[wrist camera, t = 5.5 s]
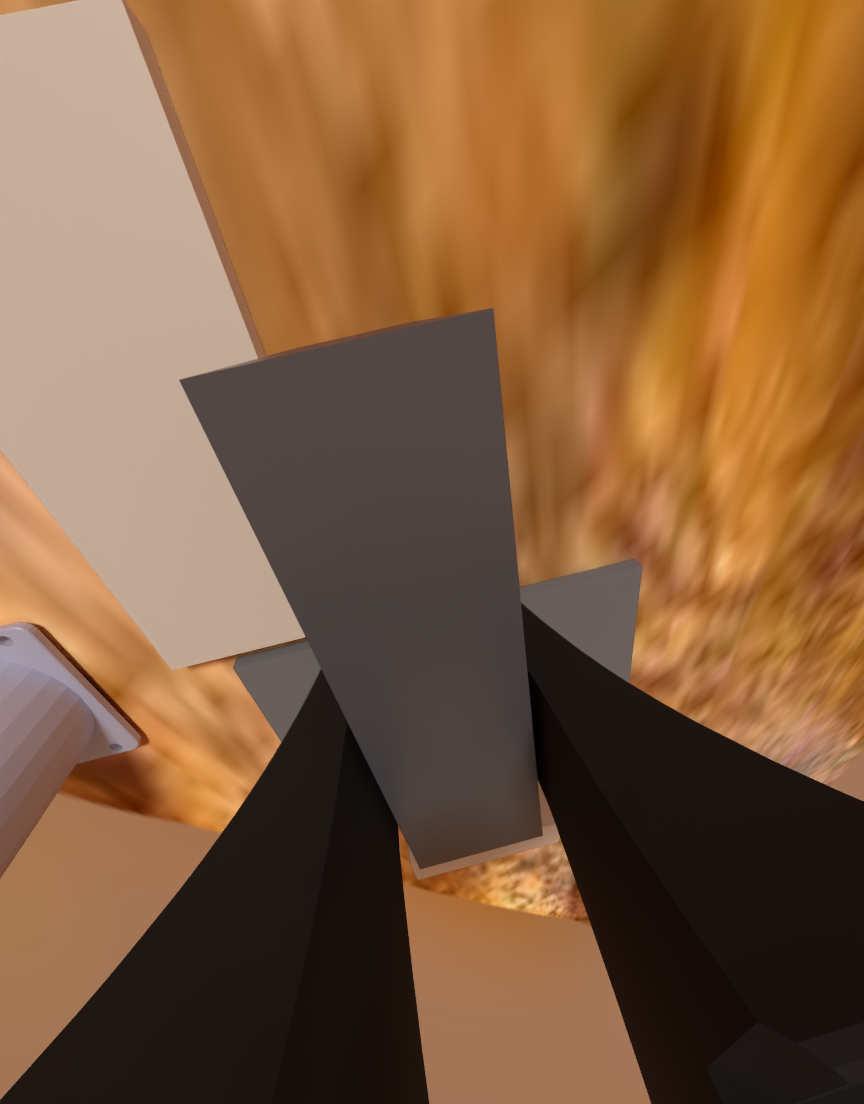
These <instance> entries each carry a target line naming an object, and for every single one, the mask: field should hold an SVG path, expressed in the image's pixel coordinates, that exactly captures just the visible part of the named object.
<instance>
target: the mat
mask: <svg viewBox="0 0 864 1104" xmlns="http://www.w3.org/2000/svg"><path fill="white" fill-rule="evenodd" d="M641 573H642V565H641V564H640V563H639V562H637V561H636V560H635V559H633V560H629V561H625V562H621V563H617V564H613V565H609V566H605V567H601V568H597V569H593V570H588V571H584V572H580V573H576V574H572V575H568V576H564V577H560V578H556V579H552V580H548V581H544V582H540V583H536V584H532V585H528V586H524V587H520V598H521V603H523V604H524V605H525V606H526V607H527V608H528V609H529V610H531V611H532V612H533V613H534V614H535V615H536V616H538V617H539V618H540V619H541V620H542V621H544V622H545V623H546V624H547V625H548V626H550V627H551V628H552V629H554V630H555V631H556V632H557V633H559V634H560V635H561V636H563V637H564V638H565V639H566V640H568V641H569V642H570V643H572V644H573V645H574V646H576V647H577V648H578V649H580V650H581V651H583V652H584V653H585V654H587V655H588V656H590V657H591V658H592V659H594V660H595V661H597V662H598V663H600V664H601V665H603V666H604V667H605V668H607V669H608V670H610V671H611V672H613V673H614V674H616V675H617V676H619V677H621V678H622V679H624V680H625V681H627V682H628V683H629V679H630V670H631V661H632V653H633V644H634V635H635V626H636V617H637V609H638V600H639V591H640V582H641ZM233 669H234V670H235V672H236V673H237V675H238V676H239V678H240V679H241V681H242V682H243V684H244V686H245V687H246V689H247V690H248V692H249V693H250V695H251V696H252V698H253V699H254V701H255V702H256V704H257V705H258V707H259V708H260V710H261V711H262V713H263V714H264V716H265V717H266V719H267V721H268V722H269V724H270V725H271V727H272V728H273V730H274V731H275V733H276V734H277V736H278V737H279V739H280V740H281V742H282V741H283V739H284V737H285V735H286V734H287V732H288V730H289V728H290V727H291V725H292V723H293V721H294V720H295V718H296V716H297V714H298V713H299V711H300V709H301V707H302V705H303V703H304V701H305V699H306V697H307V695H308V693H309V691H310V689H311V687H312V686H313V684H314V682H315V680H316V678H317V676H318V674H319V672H320V669H321V667H320V665H319V663H318V661H317V659H316V657H315V655H314V653H313V651H312V649H311V647H310V645H309V643H308V641H303V642H299V643H295V644H291V645H287V646H283V647H279V648H275V649H271V650H267V651H263V652H259V653H255V654H251V655H247V656H243V657H239V658H236V661H235V664H234V666H233Z"/></svg>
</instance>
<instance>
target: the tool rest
mask: <svg viewBox="0 0 864 1104" xmlns="http://www.w3.org/2000/svg"><path fill="white" fill-rule="evenodd" d="M262 357H266V356H265V353H264V351H263V348H262V345H261V343H260V340H259V337H258V334H257V332H256V329H255V326H254V324H253V321H252V318H251V316H250V313H249V310H248V307H247V305H246V302H245V299H244V297H243V294H242V291H241V289H240V286H239V283H238V280H237V278H236V275H235V272H234V270H233V267H232V264H231V262H230V259H229V256H228V253H227V251H226V248H225V245H224V243H223V240H222V237H221V235H220V232H219V229H218V226H217V224H216V221H215V218H214V216H213V213H212V210H211V208H210V205H209V202H208V199H207V197H206V194H205V191H204V189H203V186H202V183H201V181H200V178H199V175H198V172H197V170H196V167H195V164H194V162H193V159H192V156H191V154H190V151H189V148H188V145H187V143H186V140H185V137H184V135H183V132H182V129H181V127H180V124H179V121H178V118H177V116H176V113H175V110H174V108H173V105H172V102H171V100H170V97H169V94H168V91H167V89H166V86H165V83H164V81H163V78H162V75H161V73H160V70H159V67H158V64H157V62H156V59H155V56H154V54H153V51H152V48H151V46H150V43H149V40H148V37H147V35H146V32H145V29H144V27H143V25H142V24H141V22H140V21H139V20H138V18H137V17H136V16H135V14H134V13H133V11H132V10H131V9H130V7H129V6H128V5H127V3H126V2H125V0H78V1H73V2H67V3H62V4H57V5H51V6H46V7H41V8H35V9H30V10H25V11H19V12H14V13H9V14H3V15H0V450H1V451H2V453H3V454H4V455H5V457H6V458H7V459H8V460H9V462H10V463H11V464H12V466H13V467H14V468H15V469H16V471H17V472H18V473H19V475H20V476H21V477H22V478H23V480H24V481H25V482H26V484H27V485H28V486H29V487H30V489H31V490H32V491H33V493H34V494H35V495H36V496H37V498H38V499H39V500H40V502H41V503H42V504H43V505H44V507H45V508H46V509H47V511H48V512H49V513H50V514H51V516H52V517H53V518H54V519H55V521H56V522H57V523H58V525H59V526H60V527H61V528H62V530H63V531H64V532H65V534H66V535H67V536H68V537H69V539H70V540H71V541H72V543H73V544H74V545H75V546H76V548H77V549H78V550H79V552H80V553H81V554H82V555H83V557H84V558H85V559H86V561H87V562H88V563H89V564H90V566H91V567H92V568H93V570H94V571H95V572H96V573H97V575H98V576H99V577H100V579H101V580H102V581H103V582H104V584H105V585H106V586H107V588H108V589H109V590H110V591H111V593H112V594H113V595H114V597H115V598H116V599H117V600H118V602H119V603H120V604H121V606H122V607H123V608H124V609H125V611H126V612H127V613H128V615H129V616H130V617H131V618H132V620H133V621H134V622H135V624H136V625H137V626H138V627H139V629H140V630H141V631H142V632H143V634H144V635H145V636H146V638H147V639H148V640H149V641H150V643H151V644H152V645H153V647H154V648H155V649H156V650H157V652H158V653H159V654H160V656H161V657H162V658H163V659H164V661H165V662H166V663H167V665H168V666H169V667H170V668H171V670H176V669H180V668H184V667H188V666H192V665H196V664H200V663H204V662H208V661H212V660H216V659H220V658H224V657H228V656H232V655H236V654H240V653H244V652H248V651H252V650H256V649H260V648H264V647H268V646H272V645H276V644H280V643H284V642H289V641H293V640H297V639H301V638H305V635H304V633H303V631H302V629H301V627H300V625H299V623H298V621H297V619H296V617H295V615H294V612H293V610H292V608H291V606H290V604H289V602H288V600H287V598H286V596H285V594H284V592H283V590H282V588H281V586H280V584H279V582H278V580H277V578H276V576H275V574H274V572H273V570H272V568H271V566H270V564H269V562H268V560H267V558H266V556H265V554H264V552H263V550H262V548H261V546H260V543H259V541H258V539H257V537H256V535H255V533H254V531H253V529H252V527H251V525H250V523H249V521H248V519H247V517H246V515H245V513H244V511H243V509H242V507H241V505H240V503H239V501H238V499H237V497H236V495H235V493H234V491H233V489H232V487H231V485H230V483H229V481H228V479H227V477H226V474H225V472H224V470H223V468H222V466H221V464H220V462H219V460H218V458H217V456H216V454H215V452H214V450H213V448H212V446H211V444H210V442H209V440H208V438H207V436H206V434H205V432H204V430H203V428H202V426H201V424H200V422H199V420H198V418H197V416H196V414H195V412H194V410H193V408H192V406H191V403H190V401H189V399H188V397H187V395H186V393H185V391H184V389H183V387H182V385H181V383H180V381H179V380H180V379H184V378H188V377H191V376H195V375H199V374H202V373H206V372H210V371H214V370H217V369H221V368H225V367H229V366H232V365H236V364H240V363H243V362H247V361H251V360H255V359H258V358H262Z"/></svg>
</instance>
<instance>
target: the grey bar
mask: <svg viewBox="0 0 864 1104" xmlns="http://www.w3.org/2000/svg"><path fill="white" fill-rule="evenodd" d="M179 381H180V383H181V385H182V387H183V389H184V391H185V393H186V395H187V397H188V399H189V401H190V403H191V406H192V408H193V410H194V412H195V414H196V416H197V418H198V420H199V422H200V424H201V426H202V428H203V430H204V432H205V434H206V436H207V438H208V440H209V442H210V444H211V446H212V448H213V450H214V452H215V454H216V456H217V458H218V460H219V462H220V464H221V466H222V468H223V470H224V472H225V474H226V477H227V479H228V481H229V483H230V485H231V487H232V489H233V491H234V493H235V495H236V497H237V499H238V501H239V503H240V505H241V507H242V509H243V511H244V513H245V515H246V517H247V519H248V521H249V523H250V525H251V527H252V529H253V531H254V533H255V535H256V537H257V539H258V541H259V543H260V546H261V548H262V550H263V552H264V554H265V556H266V558H267V560H268V562H269V564H270V566H271V568H272V570H273V572H274V574H275V576H276V578H277V580H278V582H279V584H280V586H281V588H282V590H283V592H284V594H285V596H286V598H287V600H288V602H289V604H290V606H291V608H292V610H293V612H294V615H295V617H296V619H297V621H298V623H299V625H300V627H301V629H302V631H303V633H304V635H305V637H306V639H307V641H308V643H309V645H310V647H311V649H312V651H313V653H314V655H315V657H316V659H317V661H318V663H319V665H320V667H321V669H322V671H323V673H324V675H325V677H326V679H327V681H328V684H329V686H330V688H331V690H332V692H333V694H334V696H335V698H336V700H337V702H338V704H339V706H340V708H341V710H342V712H343V714H344V716H345V718H346V720H347V722H348V724H349V726H350V728H351V730H352V732H353V734H354V736H355V738H356V740H357V742H358V744H359V746H360V748H361V750H362V753H363V755H364V757H365V759H366V761H367V763H368V765H369V767H370V769H371V771H372V773H373V775H374V777H375V779H376V781H377V783H378V785H379V787H380V789H381V791H382V793H383V795H384V797H385V799H386V801H387V803H388V805H389V807H390V809H391V811H392V813H393V815H394V817H395V819H396V821H397V824H398V826H399V828H400V830H401V832H402V834H403V836H404V838H405V840H406V842H407V844H408V846H409V848H410V850H411V852H412V854H413V856H414V858H415V860H416V862H417V864H418V866H419V868H420V869H424V868H428V867H431V866H435V865H439V864H442V863H446V862H450V861H453V860H457V859H460V858H464V857H468V856H471V855H475V854H479V853H482V852H486V851H490V850H493V849H497V848H500V847H504V846H508V845H511V844H515V843H519V842H522V841H526V840H529V839H533V838H537V837H540V836H543V831H542V821H541V810H540V799H539V789H538V778H537V768H536V757H535V747H534V736H533V725H532V715H531V704H530V694H529V683H528V672H527V662H526V651H525V641H524V630H523V619H522V609H521V598H520V588H519V577H518V566H517V556H516V545H515V535H514V524H513V513H512V503H511V492H510V482H509V471H508V460H507V450H506V439H505V429H504V418H503V407H502V397H501V386H500V376H499V365H498V354H497V344H496V333H495V323H494V312H493V308H492V309H486V310H480V311H474V312H468V313H462V314H456V315H450V316H444V317H439V318H433V319H427V320H421V321H415V322H410V323H405V324H401V325H397V326H392V327H388V328H384V329H379V330H375V331H370V332H366V333H362V334H357V335H353V336H348V337H344V338H340V339H335V340H331V341H326V342H322V343H318V344H313V345H309V346H304V347H300V348H296V349H292V350H288V351H284V352H281V353H277V354H273V355H270V356H266V357H262V358H258V359H255V360H251V361H247V362H243V363H240V364H236V365H232V366H229V367H225V368H221V369H217V370H214V371H210V372H206V373H202V374H199V375H195V376H191V377H188V378H184V379H180V380H179Z"/></svg>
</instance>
